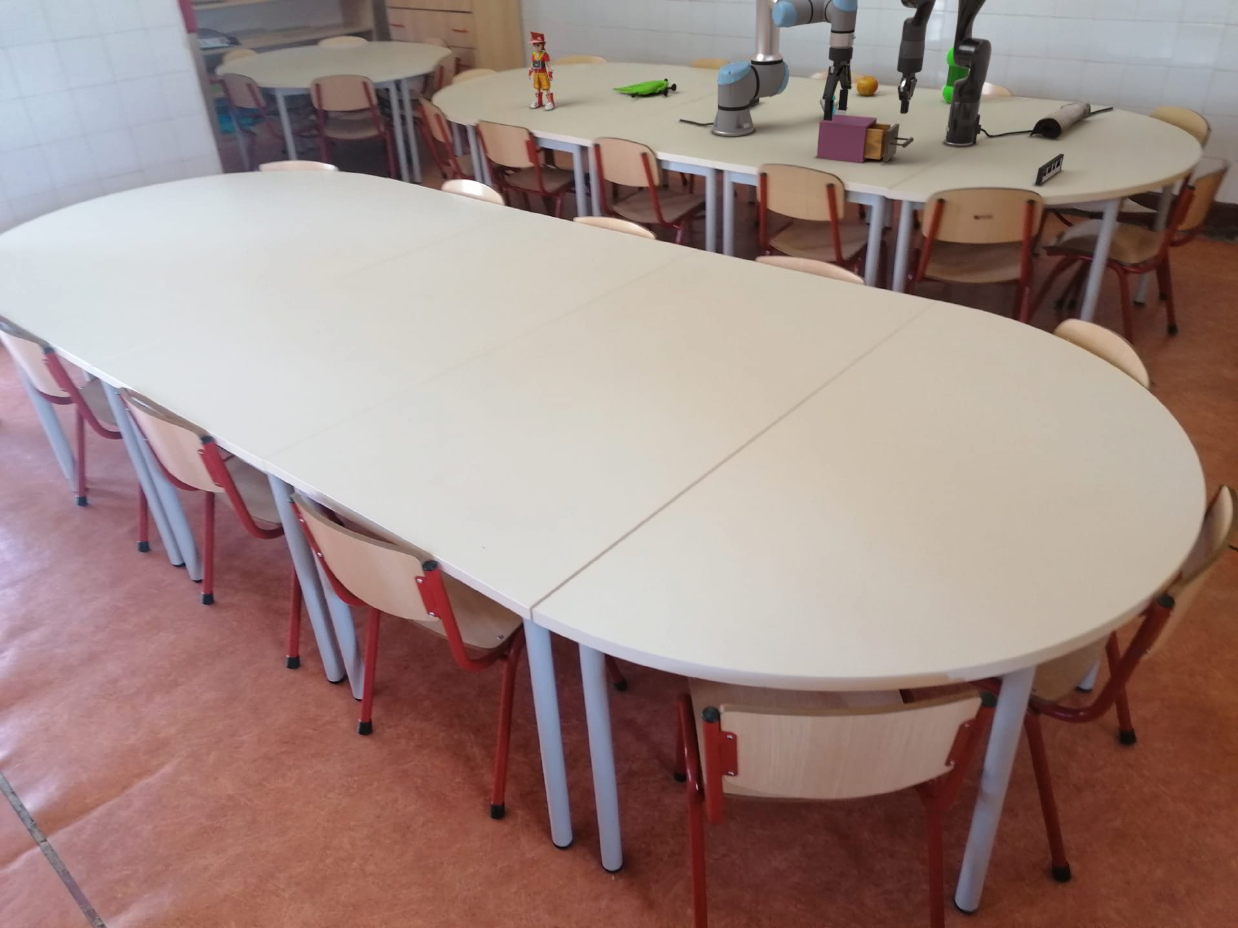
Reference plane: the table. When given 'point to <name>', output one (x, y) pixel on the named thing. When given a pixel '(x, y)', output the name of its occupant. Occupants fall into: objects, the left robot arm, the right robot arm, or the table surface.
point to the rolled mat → (1061, 120)
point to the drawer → (883, 141)
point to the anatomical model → (835, 108)
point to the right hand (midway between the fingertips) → (903, 113)
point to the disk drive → (753, 102)
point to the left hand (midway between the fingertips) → (835, 115)
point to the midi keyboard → (1049, 169)
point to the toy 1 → (541, 71)
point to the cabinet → (843, 138)
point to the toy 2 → (648, 88)
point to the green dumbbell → (953, 76)
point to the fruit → (867, 85)
